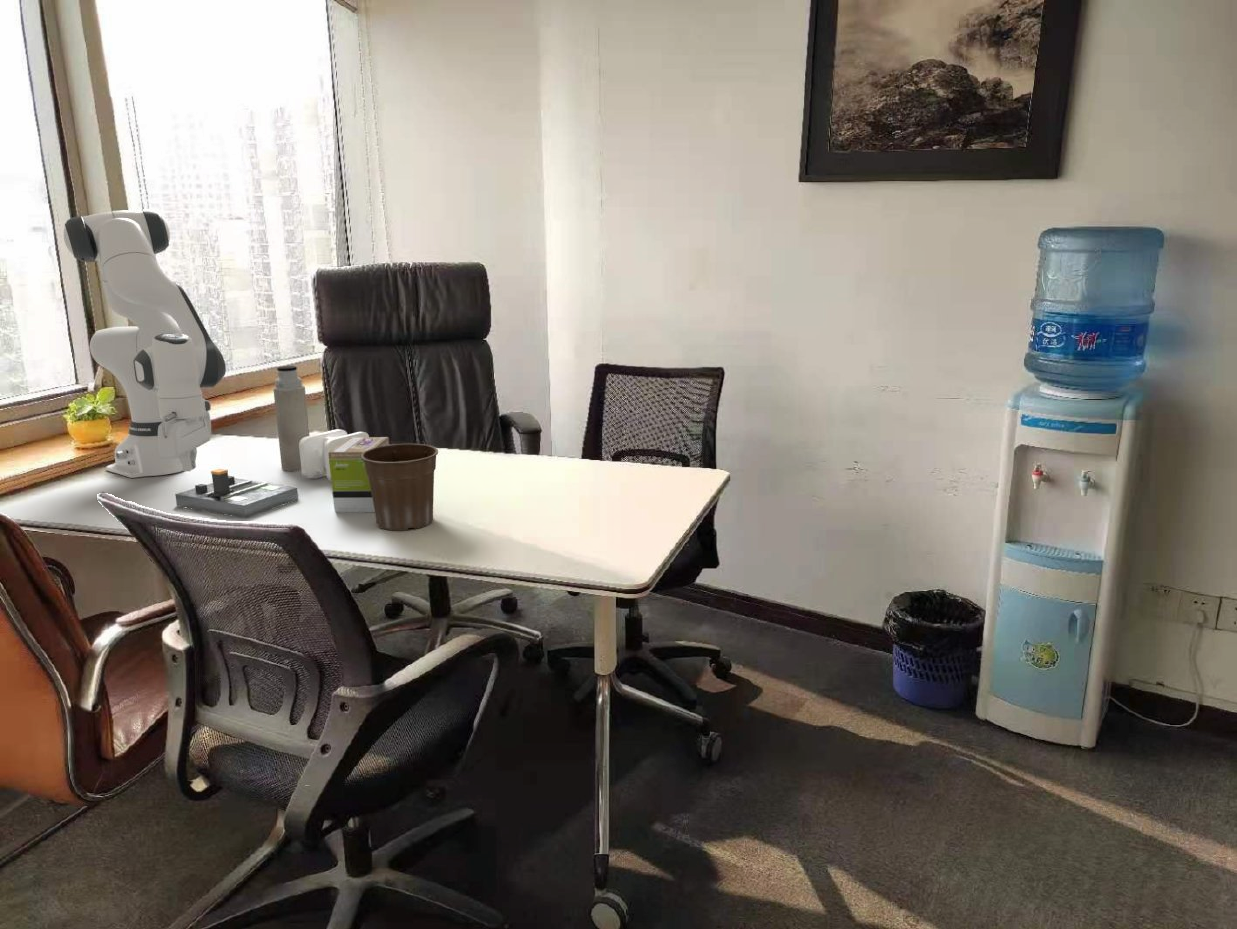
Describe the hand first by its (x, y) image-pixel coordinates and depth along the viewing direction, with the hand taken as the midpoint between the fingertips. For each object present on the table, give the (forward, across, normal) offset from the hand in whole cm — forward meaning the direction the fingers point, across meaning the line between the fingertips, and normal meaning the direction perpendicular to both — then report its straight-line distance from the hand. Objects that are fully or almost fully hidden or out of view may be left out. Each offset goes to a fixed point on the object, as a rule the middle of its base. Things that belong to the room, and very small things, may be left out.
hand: (189, 470), depth 190 cm
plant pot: (+12, -9, -48) cm, 50 cm away
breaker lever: (+8, +7, -4) cm, 11 cm away
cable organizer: (+11, +32, -24) cm, 42 cm away
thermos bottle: (+10, +44, -11) cm, 46 cm away
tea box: (+11, +7, -36) cm, 38 cm away
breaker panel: (+11, +11, -6) cm, 16 cm away
